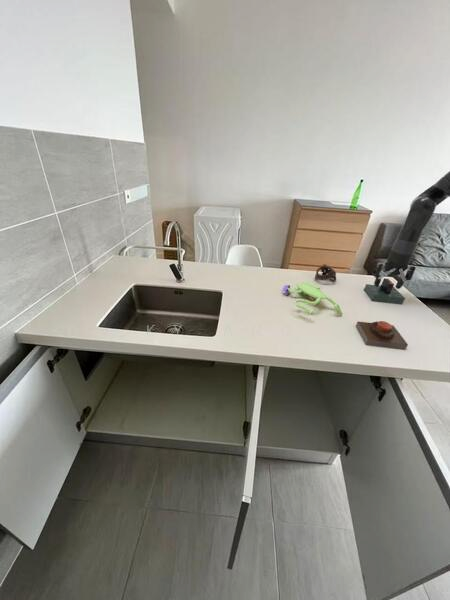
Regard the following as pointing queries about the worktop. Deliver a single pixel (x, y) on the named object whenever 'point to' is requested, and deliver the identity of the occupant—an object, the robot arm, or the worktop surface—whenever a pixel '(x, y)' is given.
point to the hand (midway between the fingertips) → (386, 287)
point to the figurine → (312, 292)
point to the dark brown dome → (325, 273)
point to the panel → (383, 295)
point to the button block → (380, 336)
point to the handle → (386, 286)
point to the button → (384, 326)
